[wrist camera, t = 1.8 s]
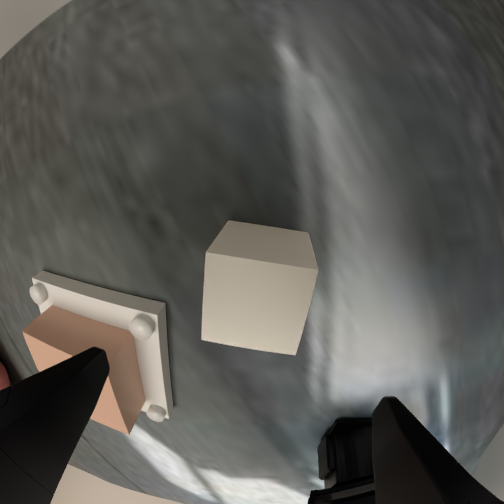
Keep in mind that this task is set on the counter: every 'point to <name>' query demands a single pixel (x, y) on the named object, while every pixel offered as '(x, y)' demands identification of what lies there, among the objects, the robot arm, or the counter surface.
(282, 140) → the counter surface
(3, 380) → the cell model
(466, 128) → the counter surface
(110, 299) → the base plate
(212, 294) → the cream brick
